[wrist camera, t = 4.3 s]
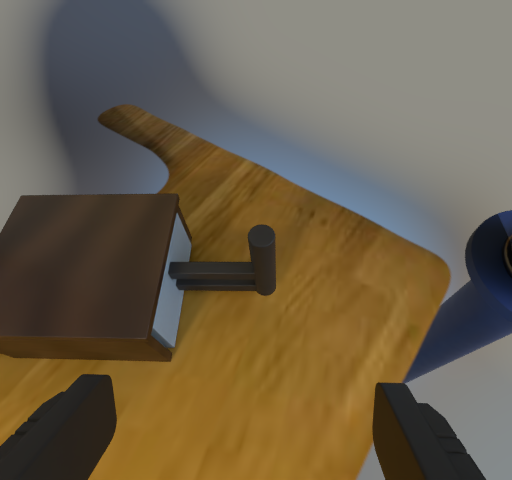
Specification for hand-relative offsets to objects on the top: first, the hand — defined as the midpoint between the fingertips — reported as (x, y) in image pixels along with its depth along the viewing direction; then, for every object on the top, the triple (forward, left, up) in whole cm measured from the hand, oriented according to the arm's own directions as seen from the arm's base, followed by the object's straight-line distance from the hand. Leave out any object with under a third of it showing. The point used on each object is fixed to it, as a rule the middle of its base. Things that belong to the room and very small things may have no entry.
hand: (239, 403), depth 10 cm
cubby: (+16, -12, -19) cm, 28 cm away
